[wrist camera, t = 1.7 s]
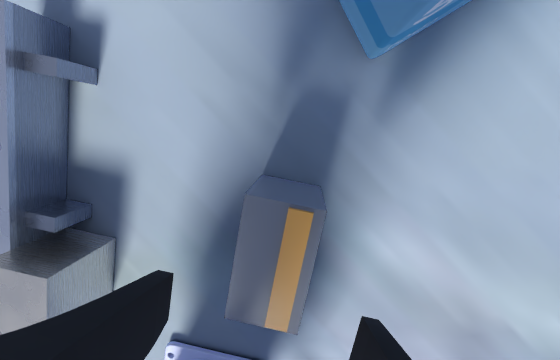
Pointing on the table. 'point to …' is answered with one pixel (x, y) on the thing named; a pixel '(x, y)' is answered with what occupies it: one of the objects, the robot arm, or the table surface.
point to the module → (275, 253)
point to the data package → (393, 20)
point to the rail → (41, 178)
